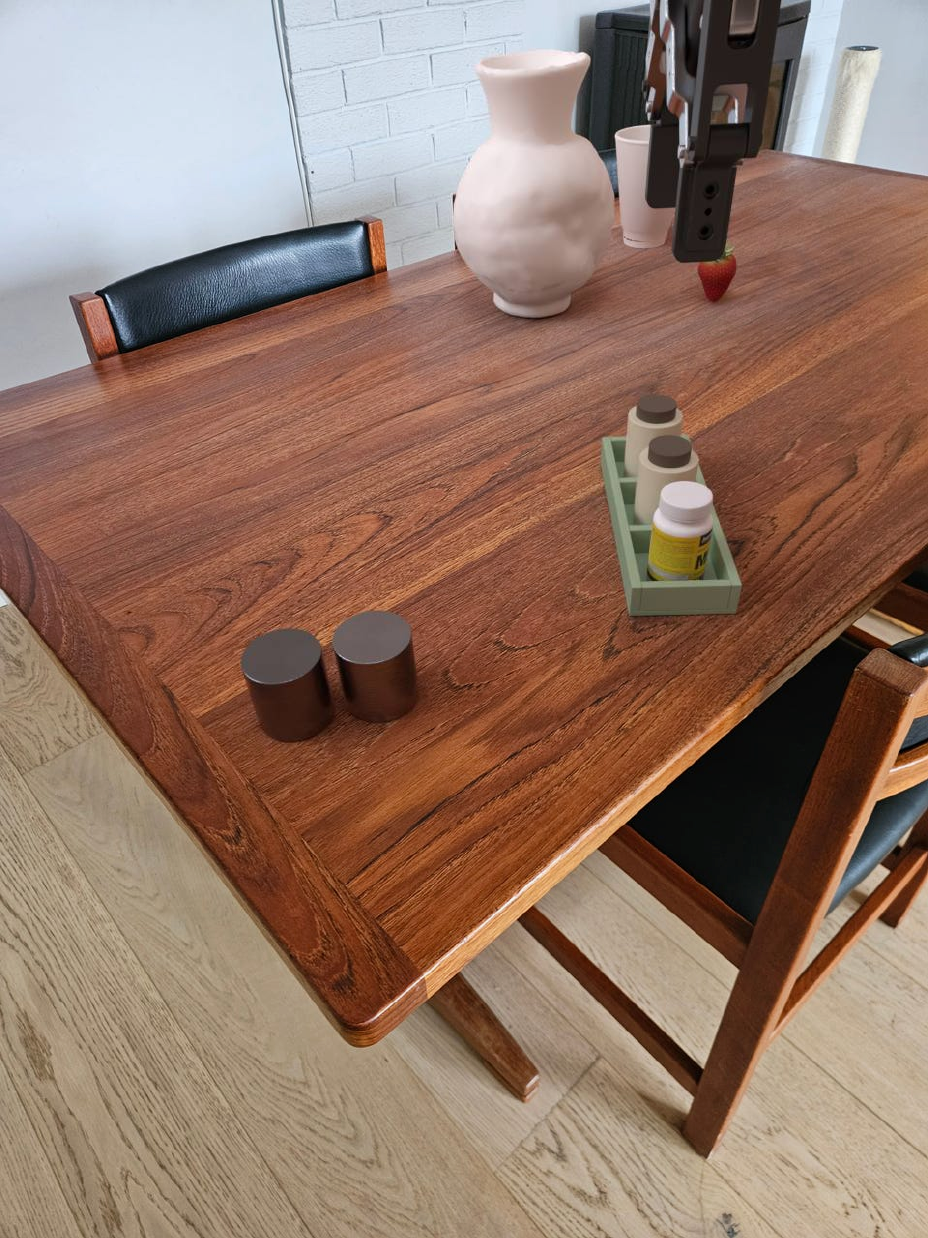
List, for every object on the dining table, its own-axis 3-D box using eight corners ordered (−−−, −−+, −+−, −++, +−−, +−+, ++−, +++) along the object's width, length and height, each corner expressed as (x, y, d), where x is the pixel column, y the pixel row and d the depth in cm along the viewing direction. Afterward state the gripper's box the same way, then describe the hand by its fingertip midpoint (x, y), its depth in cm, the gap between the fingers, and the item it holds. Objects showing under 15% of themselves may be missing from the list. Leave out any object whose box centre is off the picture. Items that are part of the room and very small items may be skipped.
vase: (433, 310, 119) (413, 63, 99) (538, 271, 129) (539, 39, 109) (522, 346, 108) (521, 76, 88) (630, 300, 118) (650, 48, 98)
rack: (684, 460, 85) (688, 433, 83) (736, 613, 67) (742, 585, 65) (600, 462, 85) (601, 436, 83) (629, 616, 67) (632, 587, 65)
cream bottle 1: (679, 471, 82) (690, 394, 77) (667, 497, 79) (677, 419, 73) (630, 462, 84) (637, 387, 78) (616, 487, 81) (622, 411, 75)
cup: (684, 252, 132) (697, 139, 122) (609, 253, 134) (616, 142, 123) (677, 229, 141) (689, 122, 131) (607, 231, 142) (613, 125, 132)
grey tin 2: (431, 679, 63) (424, 620, 59) (397, 731, 59) (387, 672, 55) (367, 661, 65) (357, 602, 61) (330, 710, 61) (316, 651, 57)
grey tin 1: (348, 697, 62) (336, 639, 58) (308, 751, 58) (292, 692, 54) (286, 678, 64) (270, 620, 60) (243, 729, 60) (223, 671, 56)
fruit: (685, 301, 117) (693, 242, 111) (709, 291, 119) (717, 232, 114) (715, 310, 114) (724, 249, 108) (739, 299, 116) (749, 239, 111)
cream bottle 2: (693, 515, 76) (706, 436, 71) (681, 545, 73) (693, 464, 68) (641, 505, 78) (649, 427, 73) (626, 534, 75) (633, 454, 69)
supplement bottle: (700, 600, 67) (715, 514, 62) (642, 591, 68) (651, 506, 63) (705, 565, 71) (720, 481, 65) (650, 557, 72) (660, 474, 66)
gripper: (923, -305, 23) (800, 278, 34) (788, -242, 34) (727, 187, 45) (656, -282, 24) (618, 287, 35) (606, -227, 35) (588, 194, 45)
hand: (679, 230), depth 40 cm, fingers open, 8 cm apart
